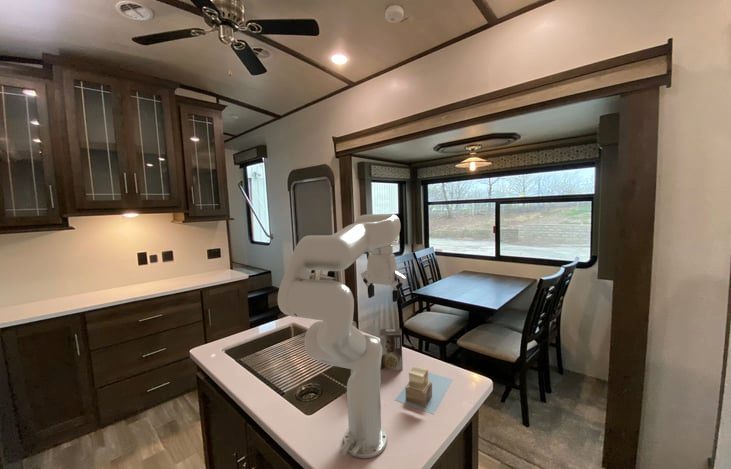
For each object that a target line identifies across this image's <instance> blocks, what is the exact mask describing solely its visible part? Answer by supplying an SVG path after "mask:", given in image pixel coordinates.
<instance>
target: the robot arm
mask: <svg viewBox="0 0 731 469" xmlns="http://www.w3.org/2000/svg"><path fill="white" fill-rule="evenodd" d="M400 232H401V221H400V218H399V217H398V216H397V215H396V214H393V213H377V214H376V213H374V214H371V213H370V214H361V215H359V216H358V217H357V218H356V219H355V222H354V223H352V224H349V225H347V226H345V227H343V228H342V229H340V230H338V231H337V232H335V233H334V234H330V235H326V234H325V235H323V234H322V235H318V234H317V235H315V234H314V235H313V234H312V235H306V236H303V237H302V238H301V239H300V240H299V241H298V242H297V245H296V246H295V248H294V249H293V252H292V254H291V256H290V259H289V262H288V263H287V264H288V265H287V267H286V270H285V272H284V274H283V276H282V280H281V283H280V285H279V287H278V288H279V289H278V293H277V306H278V308H279V310H280V312H282V313H283V314H285V316H289V317H292V318H293V317H294V318H299V319H300V318H301V319H309V320H315V321H316V322H313V323H312V324H311V325H310V326H309V328H308V329H307V331H306V332H305V335H304V349H305V351H306V354H307V355H308V356H309V358H311V359H313V360H315V361H318V362H321V363H322V364H325V365H329V366H334V367H337V368H342V369H343V368H345V369H348V370H350V371H351V370H354V371H355V372H354V373H353V374H352V375H351V374H350V376H349V378H348V380H347V384H346V394H347V396H346V397H347V398H346V399H347V415H348V416H347V419H348V428H347V429H346V431H345V432H344V436H343V445H342V446H341V448H340V449H339V454H340V455H341V456H342V457H346V455H347V454H350V455H351V456H352V457H355V458H357V459H358V458H359V459H370V458H374V457H376V456H378V455H380V454H381V453H382V452H383V451H384V450H385V449H386V447H387V444H388V443H387V442H388V435H387V432H386V431H385V429H384V428H383V426H382V412H381V411H382V410H381V409H382V408H381V407H382V406H381V386H380V375H381V358H382V345H381V343H380V339H378V338H377V337H374V336H371V335H368V334H363V332H361V331H360V330H359V329H358V328H357V327H356V326H354V325H353V322H354V312H355V299H354V295H353V291H351V289H350V287H349V286H347V285H345V284H344V283H341V282H340V281H335V280H330V279H329V280H328V279H317V278H316V279H314V278H311V274H312V271H325V272H326V271H327V272H341V271H344V270H347V269H348V268H349V267H350V266H351V265H353V264H354V263H355V262H356V261H357V260H358V259H359V258H361V256H362V255H364V254H365V253H367V252H370V253H369V254H368V258H367V263H366V270H365V271H363V272H361V274H360V276H361V278H362V280H363V283H364V284H365V287H367V296H368V298H369V299H371V298H372V297H375V285H374V284H376V285H385V286H386V285H387V286H391V288H392V289H393V290H392V291H391V292H392V302H393V303H396V302H397V301H399V299H400V289H401V288H402V287H403V286H404V284H405V282H406V280H407V277H405V276H404V275H403V274H401V273H400V272H399V271H398V266H397V260H396V256H395V255H396V254H394V253H393V243H394V241H396V239H397V238H398V236H399V234H400ZM398 280H399V282H398ZM317 320H318V321H317Z"/></svg>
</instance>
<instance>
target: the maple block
mask: <svg viewBox="0 0 731 469" xmlns="http://www.w3.org/2000/svg"><path fill="white" fill-rule="evenodd" d="M428 372H429V369H428V368H425V367H421V366H417V365H414V366H413V367H412V368H411V369H410V371H409V372H408V383H409V386H410V387H413V388H416V389H419V390H422V391H423V390H424V389H425V387H426V386H427V384H428Z"/></svg>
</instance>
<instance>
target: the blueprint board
mask: <svg viewBox="0 0 731 469" xmlns="http://www.w3.org/2000/svg"><path fill="white" fill-rule="evenodd" d="M452 382H453V378H450V377H447V376H443V375H440V374H435V373H433V372H429V371H428V384H427V386H426V387H425V389H424V390H423V391H422V390H419V389H416V388H413V387H410V386H409V382H408V383H407V384H405V386H404V387H403V389H402V390H401V391H400V392H399V394H398V395H397V396H396V397H395V399H394V401H396V402H398V403H401V404H404V405H407V406H410V407H413V408H414V409H417V410H420V411H423V412H426V413H428V414H430V415H434V414H435V413H436V411H437V410H438V407H439V406H440V404H441V402H442V400H443V399H444V397H445V394H446V393H447V392H448V389H449V387H450V386H451V384H452Z"/></svg>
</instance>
